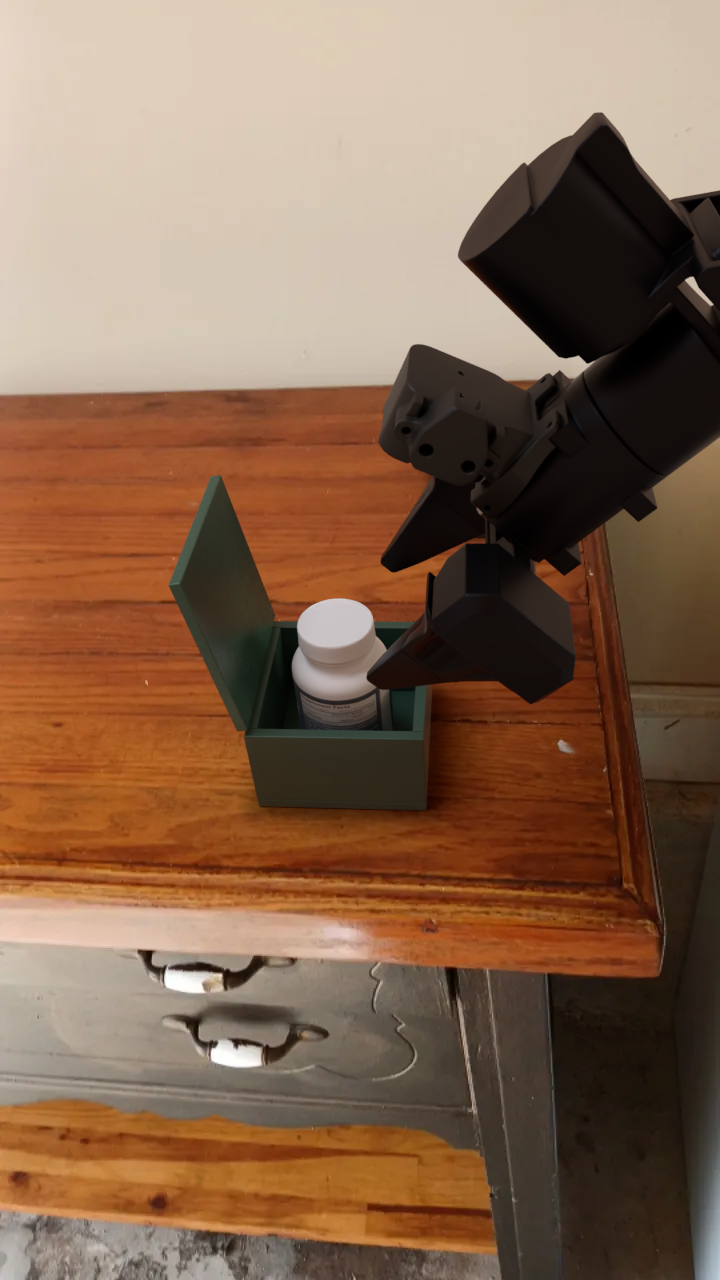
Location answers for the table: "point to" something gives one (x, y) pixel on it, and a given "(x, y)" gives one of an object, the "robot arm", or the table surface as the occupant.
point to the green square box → (335, 742)
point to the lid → (224, 602)
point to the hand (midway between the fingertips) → (380, 620)
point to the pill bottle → (339, 669)
